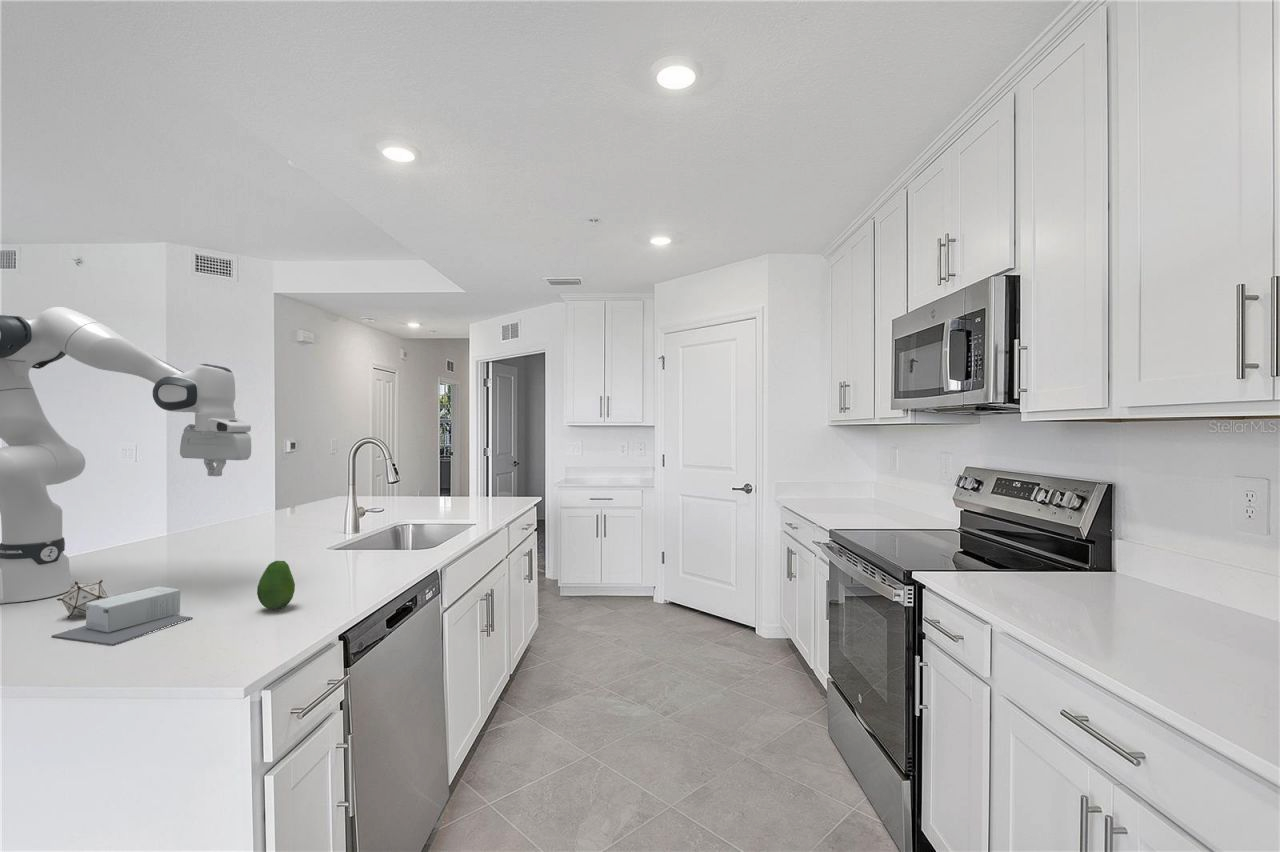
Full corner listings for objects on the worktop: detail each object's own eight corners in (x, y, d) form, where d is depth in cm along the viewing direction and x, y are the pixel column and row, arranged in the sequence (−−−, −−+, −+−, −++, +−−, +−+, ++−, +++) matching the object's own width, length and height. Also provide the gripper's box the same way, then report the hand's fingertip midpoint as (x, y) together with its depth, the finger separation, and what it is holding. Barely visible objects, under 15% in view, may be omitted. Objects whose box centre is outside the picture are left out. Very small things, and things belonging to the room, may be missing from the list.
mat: (51, 637, 126) (51, 635, 126) (135, 612, 143) (135, 610, 143) (113, 645, 123) (113, 643, 123) (192, 619, 139) (192, 617, 139)
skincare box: (160, 608, 145) (84, 629, 131) (159, 584, 145) (83, 602, 131) (182, 613, 142) (106, 635, 128) (181, 588, 141) (105, 607, 128)
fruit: (250, 615, 142) (250, 565, 142) (265, 604, 150) (266, 557, 150) (286, 614, 144) (286, 564, 143) (299, 603, 151) (300, 556, 151)
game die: (85, 633, 139) (69, 607, 133) (58, 618, 140) (41, 591, 134) (125, 605, 146) (112, 579, 140) (99, 590, 147) (85, 564, 141)
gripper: (173, 424, 160) (172, 475, 160) (235, 425, 155) (234, 478, 155) (195, 423, 166) (195, 473, 166) (256, 425, 161) (255, 476, 161)
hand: (214, 476), depth 161 cm, fingers closed
